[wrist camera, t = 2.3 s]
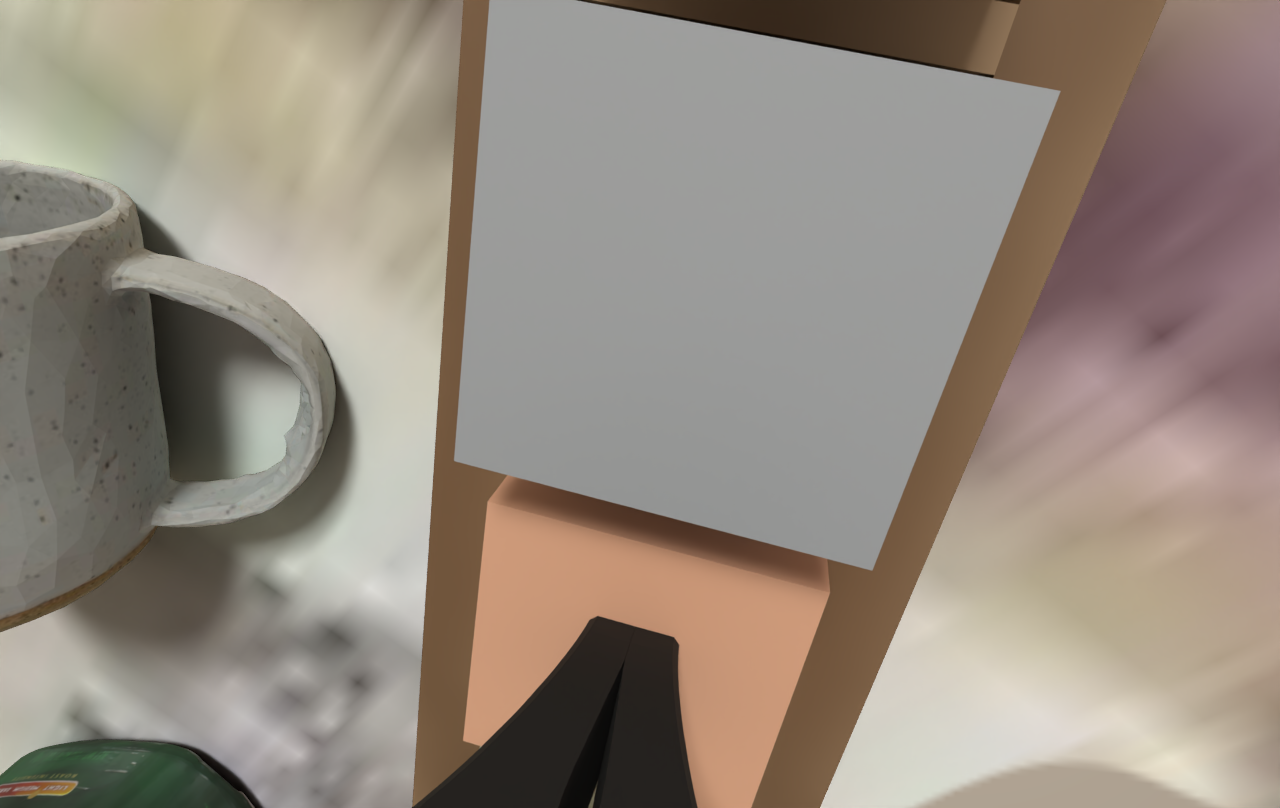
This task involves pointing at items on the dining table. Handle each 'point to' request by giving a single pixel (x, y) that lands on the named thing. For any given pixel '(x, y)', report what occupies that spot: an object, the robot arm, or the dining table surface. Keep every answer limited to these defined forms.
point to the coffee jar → (116, 778)
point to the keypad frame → (876, 599)
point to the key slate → (725, 266)
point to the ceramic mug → (112, 390)
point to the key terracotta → (646, 619)
